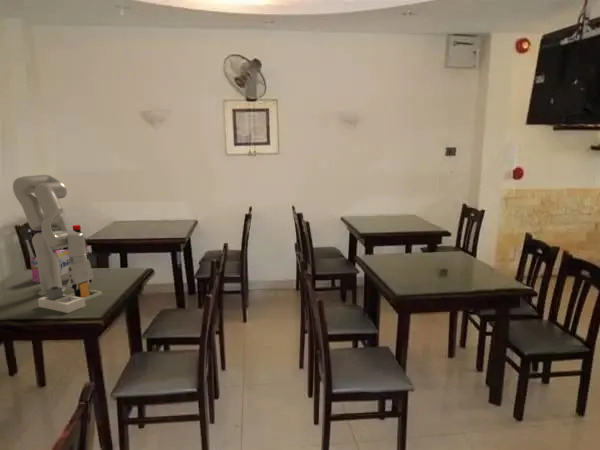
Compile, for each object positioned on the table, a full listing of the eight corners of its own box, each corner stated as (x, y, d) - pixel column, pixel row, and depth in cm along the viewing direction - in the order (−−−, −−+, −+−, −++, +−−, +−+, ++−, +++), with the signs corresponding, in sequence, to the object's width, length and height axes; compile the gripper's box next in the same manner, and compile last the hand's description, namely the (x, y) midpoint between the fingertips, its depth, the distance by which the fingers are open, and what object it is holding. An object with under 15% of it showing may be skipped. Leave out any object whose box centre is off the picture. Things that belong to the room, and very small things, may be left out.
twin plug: (49, 306, 210) (46, 287, 209) (57, 303, 214) (55, 285, 213) (55, 307, 209) (52, 289, 207) (64, 304, 212) (61, 286, 211)
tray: (63, 302, 218) (62, 297, 218) (87, 293, 230) (86, 289, 229) (79, 305, 213) (78, 300, 213) (102, 296, 225) (102, 291, 225)
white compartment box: (35, 308, 212) (33, 297, 211) (53, 302, 220) (51, 291, 219) (68, 315, 201) (67, 303, 200) (86, 308, 209) (84, 297, 208)
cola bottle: (86, 279, 256) (80, 226, 250) (71, 279, 256) (64, 226, 250) (93, 274, 264) (87, 223, 259) (78, 274, 264) (72, 223, 259)
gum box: (62, 270, 276) (59, 248, 274) (74, 270, 274) (71, 248, 272) (32, 282, 253) (29, 258, 250) (45, 282, 251) (41, 258, 249)
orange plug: (75, 299, 221) (73, 281, 219) (83, 296, 225) (81, 279, 223) (82, 300, 219) (80, 282, 217) (89, 297, 223) (87, 280, 221)
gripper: (67, 263, 209) (72, 302, 212) (98, 255, 224) (102, 290, 227) (56, 262, 212) (61, 299, 216) (87, 253, 227) (92, 289, 230)
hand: (82, 294), depth 221 cm, fingers closed on orange plug, 4 cm apart
